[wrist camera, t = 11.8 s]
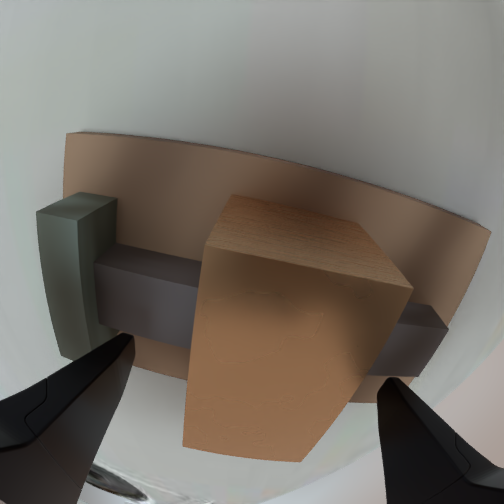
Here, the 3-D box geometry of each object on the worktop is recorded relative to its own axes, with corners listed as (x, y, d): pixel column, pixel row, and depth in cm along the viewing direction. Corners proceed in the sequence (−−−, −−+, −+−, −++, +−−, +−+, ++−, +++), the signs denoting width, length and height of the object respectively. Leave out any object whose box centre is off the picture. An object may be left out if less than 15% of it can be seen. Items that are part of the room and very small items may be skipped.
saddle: (358, 223, 11) (413, 288, 6) (295, 381, 14) (300, 461, 10) (231, 193, 11) (205, 244, 6) (201, 365, 14) (182, 446, 10)
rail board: (478, 223, 12) (529, 257, 8) (390, 389, 16) (407, 438, 13) (81, 131, 11) (19, 140, 7) (88, 335, 16) (57, 380, 12)
